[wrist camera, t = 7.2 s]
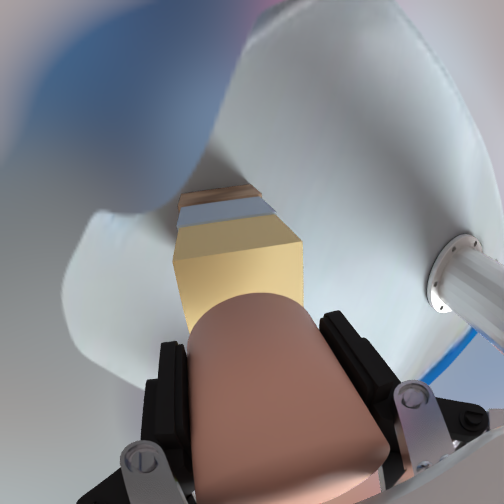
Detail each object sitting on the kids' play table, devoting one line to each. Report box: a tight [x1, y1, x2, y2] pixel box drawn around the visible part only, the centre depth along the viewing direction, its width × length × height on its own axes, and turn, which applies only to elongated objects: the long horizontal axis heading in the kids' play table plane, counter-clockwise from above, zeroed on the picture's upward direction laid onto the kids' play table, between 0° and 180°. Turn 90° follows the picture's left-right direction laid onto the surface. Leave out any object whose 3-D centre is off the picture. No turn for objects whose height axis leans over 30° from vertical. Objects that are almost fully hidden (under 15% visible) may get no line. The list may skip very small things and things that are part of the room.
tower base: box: [178, 184, 262, 213], centre depth 25 cm, size 6×6×5 cm
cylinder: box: [187, 293, 390, 504], centre depth 8 cm, size 5×5×6 cm
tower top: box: [173, 214, 303, 333], centre depth 16 cm, size 6×6×5 cm
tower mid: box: [177, 196, 276, 232], centre depth 21 cm, size 6×6×5 cm
